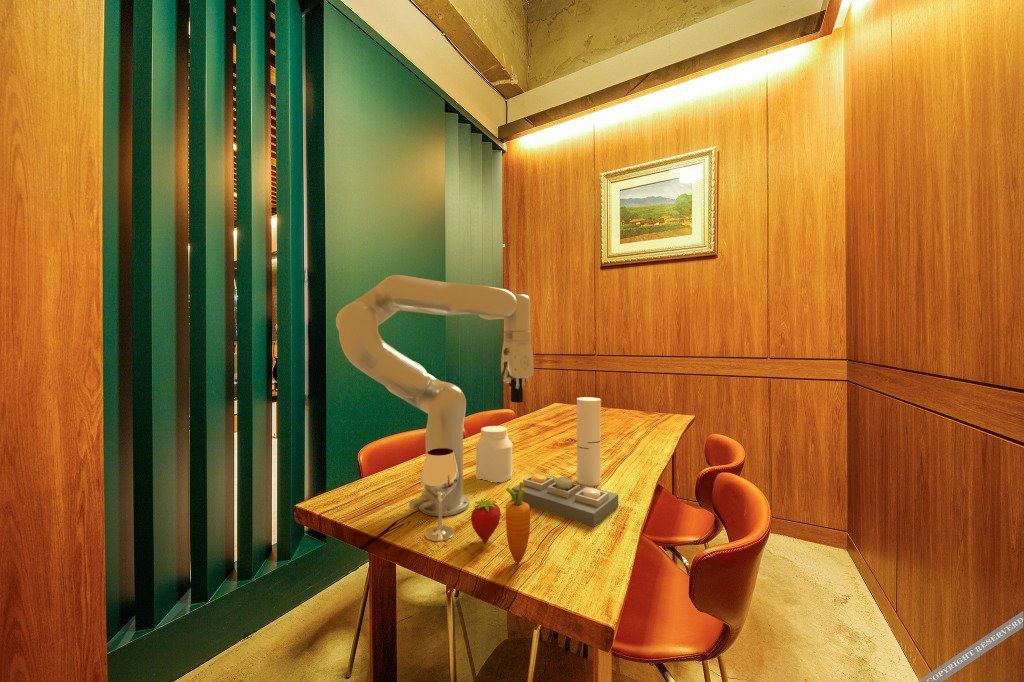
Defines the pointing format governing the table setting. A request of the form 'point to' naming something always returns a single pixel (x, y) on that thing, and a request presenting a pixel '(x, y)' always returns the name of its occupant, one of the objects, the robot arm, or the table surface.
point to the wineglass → (440, 485)
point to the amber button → (538, 478)
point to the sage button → (563, 482)
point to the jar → (494, 455)
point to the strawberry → (485, 518)
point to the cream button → (591, 493)
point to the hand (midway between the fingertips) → (516, 401)
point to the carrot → (517, 524)
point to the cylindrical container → (589, 441)
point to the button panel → (568, 500)
